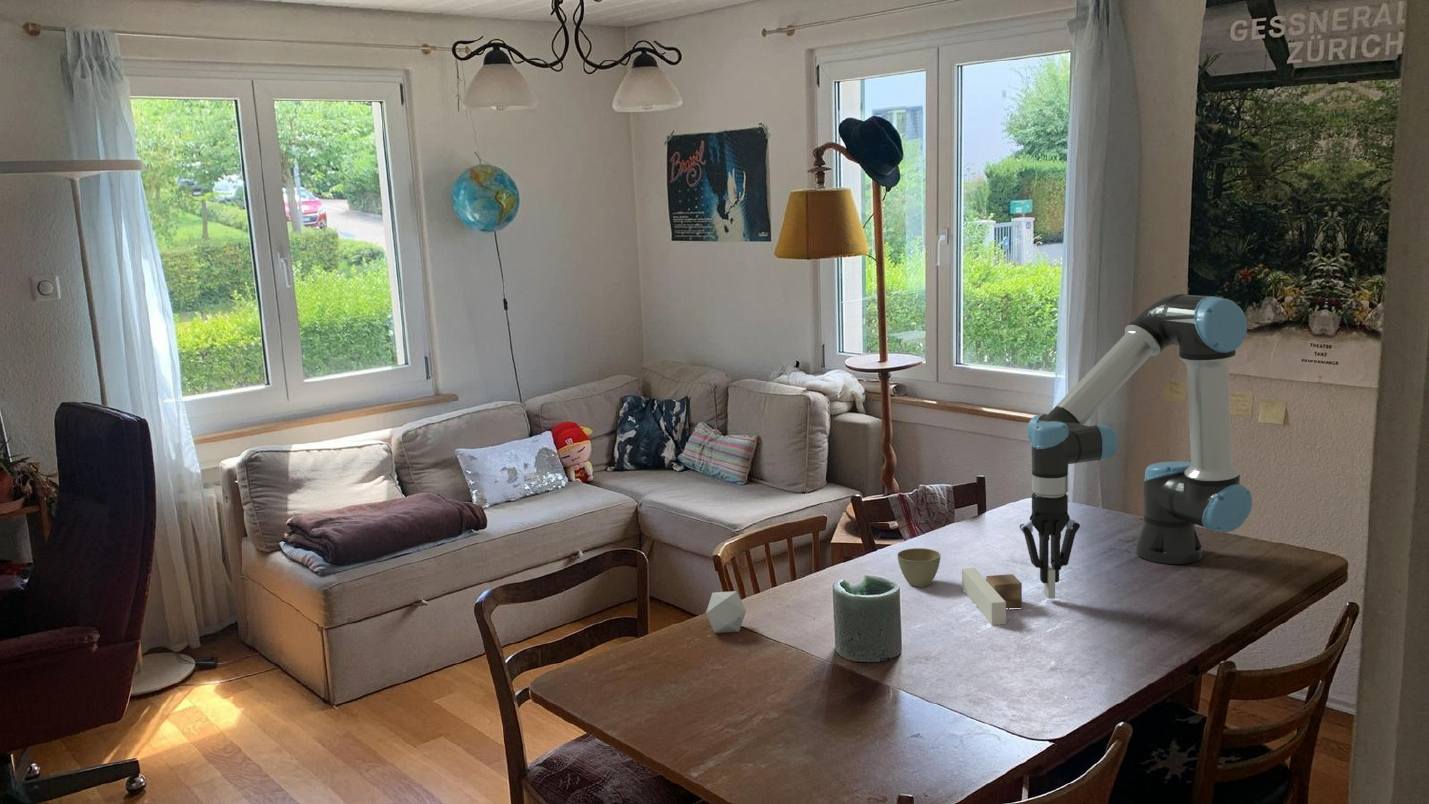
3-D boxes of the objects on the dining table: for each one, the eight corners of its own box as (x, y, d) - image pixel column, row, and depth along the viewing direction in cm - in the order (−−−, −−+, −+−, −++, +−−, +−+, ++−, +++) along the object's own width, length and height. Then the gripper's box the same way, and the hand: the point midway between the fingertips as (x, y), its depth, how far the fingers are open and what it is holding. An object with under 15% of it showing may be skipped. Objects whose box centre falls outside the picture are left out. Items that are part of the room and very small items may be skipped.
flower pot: (938, 576, 264) (938, 547, 262) (943, 590, 254) (942, 560, 253) (896, 576, 265) (895, 548, 263) (899, 591, 255) (898, 561, 254)
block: (1012, 599, 246) (1012, 574, 245) (1021, 609, 241) (1021, 583, 239) (986, 601, 246) (986, 575, 245) (994, 611, 240) (994, 585, 239)
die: (733, 643, 231) (755, 601, 233) (695, 622, 232) (718, 580, 233) (732, 642, 239) (754, 601, 241) (696, 622, 240) (718, 581, 242)
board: (975, 588, 254) (975, 567, 253) (1006, 624, 232) (1006, 601, 232) (962, 589, 254) (961, 568, 253) (991, 625, 232) (991, 602, 231)
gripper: (1072, 486, 244) (1072, 588, 248) (1014, 490, 243) (1015, 592, 247) (1085, 495, 236) (1085, 600, 240) (1026, 499, 235) (1026, 604, 240)
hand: (1049, 596), depth 244 cm, fingers closed
